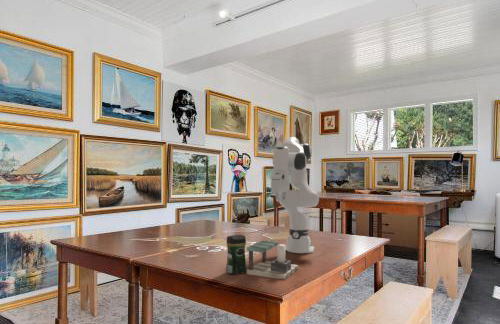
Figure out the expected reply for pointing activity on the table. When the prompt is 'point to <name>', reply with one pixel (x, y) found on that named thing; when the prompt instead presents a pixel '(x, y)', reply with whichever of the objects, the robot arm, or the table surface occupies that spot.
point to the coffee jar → (236, 254)
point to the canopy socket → (268, 267)
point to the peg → (280, 253)
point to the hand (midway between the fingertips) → (281, 200)
